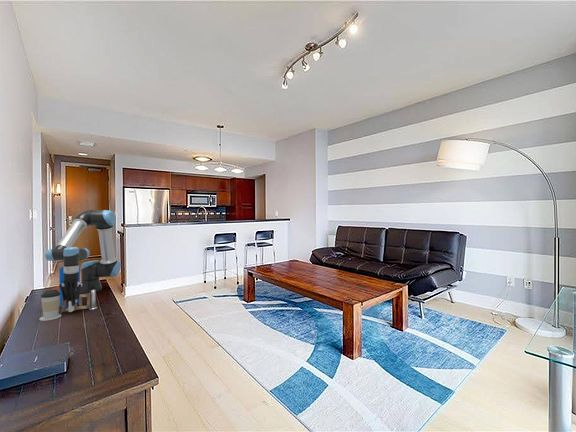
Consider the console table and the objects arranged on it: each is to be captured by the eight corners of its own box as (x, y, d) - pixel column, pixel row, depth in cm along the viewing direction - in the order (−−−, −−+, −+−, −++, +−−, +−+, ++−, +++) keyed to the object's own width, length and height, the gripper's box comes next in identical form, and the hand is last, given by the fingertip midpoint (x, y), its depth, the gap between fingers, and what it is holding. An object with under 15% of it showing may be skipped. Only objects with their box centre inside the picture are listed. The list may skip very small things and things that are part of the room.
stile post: (73, 307, 186) (73, 291, 186) (80, 307, 186) (80, 291, 186) (69, 309, 182) (69, 293, 182) (76, 309, 182) (75, 293, 182)
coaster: (48, 314, 173) (48, 313, 173) (65, 314, 173) (65, 313, 173) (34, 320, 163) (34, 320, 163) (52, 320, 163) (52, 320, 163)
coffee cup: (49, 320, 163) (49, 294, 163) (36, 318, 165) (36, 292, 164) (64, 314, 172) (64, 289, 171) (52, 313, 173) (52, 288, 173)
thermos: (83, 302, 195) (83, 266, 195) (70, 307, 185) (70, 269, 184) (69, 301, 197) (69, 265, 196) (55, 307, 186) (55, 268, 185)
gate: (90, 307, 183) (90, 293, 183) (90, 307, 182) (90, 293, 182) (62, 311, 176) (62, 296, 175) (62, 311, 175) (62, 297, 174)
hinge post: (91, 307, 186) (91, 289, 185) (98, 307, 186) (98, 289, 186) (87, 309, 181) (87, 291, 181) (94, 309, 181) (94, 291, 181)
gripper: (55, 274, 170) (55, 313, 170) (78, 273, 171) (78, 313, 171) (64, 271, 178) (64, 309, 178) (86, 271, 178) (86, 309, 179)
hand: (71, 311), depth 175 cm, fingers closed
